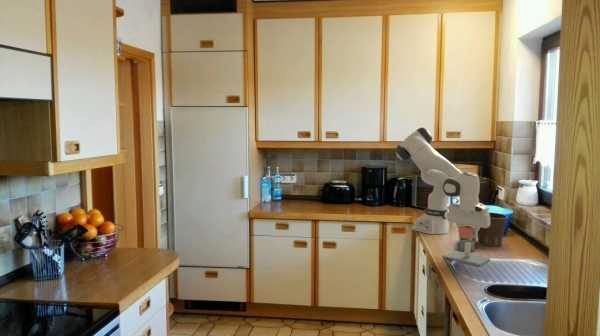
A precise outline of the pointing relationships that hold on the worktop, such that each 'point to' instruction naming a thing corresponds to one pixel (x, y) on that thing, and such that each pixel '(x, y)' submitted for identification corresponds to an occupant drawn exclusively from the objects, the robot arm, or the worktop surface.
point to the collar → (467, 231)
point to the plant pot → (493, 230)
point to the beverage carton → (465, 240)
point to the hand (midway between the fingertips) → (467, 233)
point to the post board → (469, 260)
